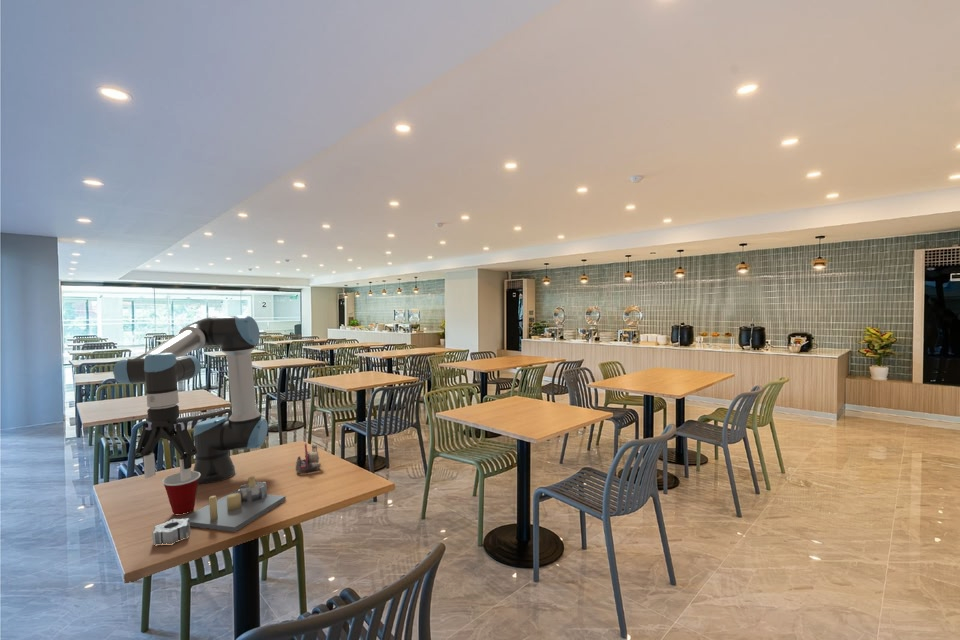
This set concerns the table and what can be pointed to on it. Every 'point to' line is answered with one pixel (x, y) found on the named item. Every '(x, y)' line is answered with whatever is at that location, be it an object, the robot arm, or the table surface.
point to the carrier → (232, 511)
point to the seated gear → (252, 492)
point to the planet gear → (171, 531)
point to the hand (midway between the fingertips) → (167, 478)
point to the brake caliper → (308, 461)
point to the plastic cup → (181, 492)
